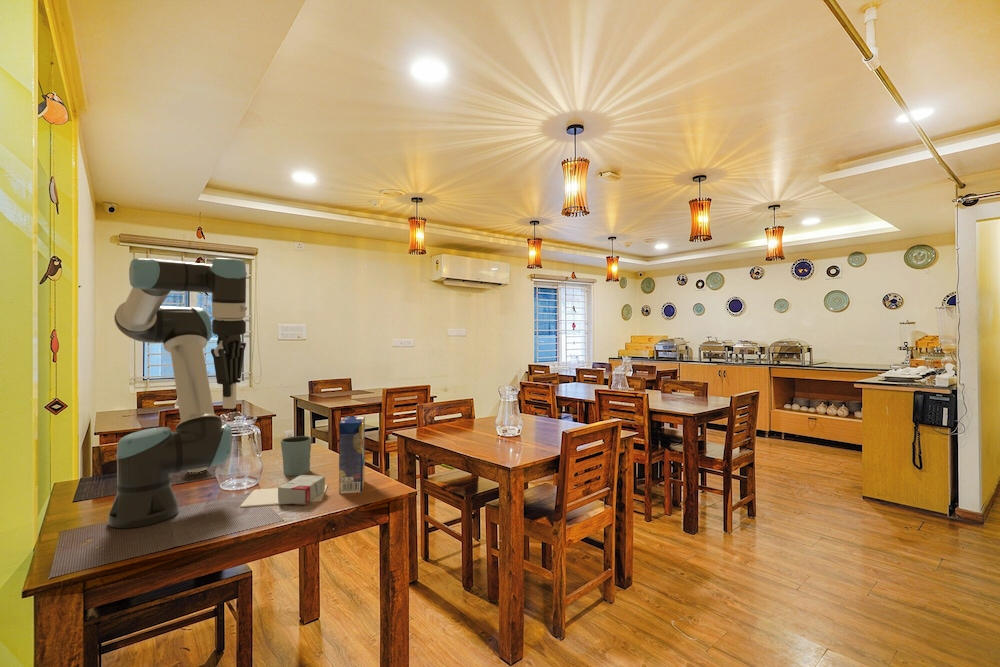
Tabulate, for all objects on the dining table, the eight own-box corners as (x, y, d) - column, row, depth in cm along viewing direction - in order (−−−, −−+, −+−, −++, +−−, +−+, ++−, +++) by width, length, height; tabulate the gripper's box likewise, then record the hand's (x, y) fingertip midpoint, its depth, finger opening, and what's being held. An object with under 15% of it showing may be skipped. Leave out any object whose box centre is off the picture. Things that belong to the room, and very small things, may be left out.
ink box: (305, 505, 134) (325, 491, 146) (305, 488, 134) (325, 475, 146) (277, 503, 136) (300, 490, 147) (277, 487, 135) (300, 474, 147)
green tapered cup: (304, 476, 162) (304, 442, 162) (275, 476, 162) (275, 442, 162) (316, 468, 172) (316, 435, 172) (288, 467, 172) (288, 435, 172)
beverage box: (364, 481, 157) (364, 416, 157) (361, 492, 146) (362, 422, 146) (343, 482, 156) (343, 416, 156) (339, 493, 145) (339, 423, 145)
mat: (239, 507, 134) (239, 506, 134) (254, 490, 147) (254, 489, 147) (321, 501, 139) (321, 500, 139) (327, 485, 152) (327, 484, 152)
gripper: (230, 322, 114) (231, 415, 116) (256, 317, 126) (255, 401, 129) (199, 320, 113) (200, 414, 116) (227, 315, 126) (227, 400, 129)
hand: (229, 407), depth 123 cm, fingers closed
